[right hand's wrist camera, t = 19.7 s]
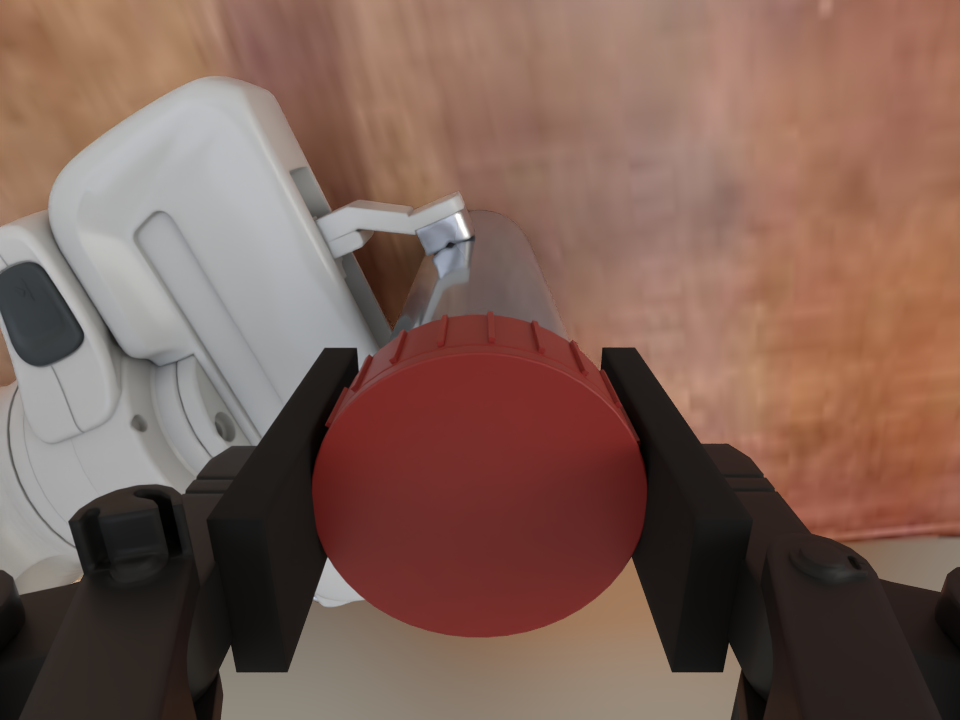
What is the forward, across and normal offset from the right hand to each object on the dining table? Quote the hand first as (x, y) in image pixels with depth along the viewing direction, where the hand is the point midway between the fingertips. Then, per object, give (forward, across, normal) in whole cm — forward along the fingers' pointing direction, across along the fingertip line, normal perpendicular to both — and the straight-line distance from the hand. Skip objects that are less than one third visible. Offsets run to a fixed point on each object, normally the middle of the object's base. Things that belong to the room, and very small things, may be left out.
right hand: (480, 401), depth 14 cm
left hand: (+8, -1, 0) cm, 8 cm away
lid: (-4, 0, 0) cm, 4 cm away
